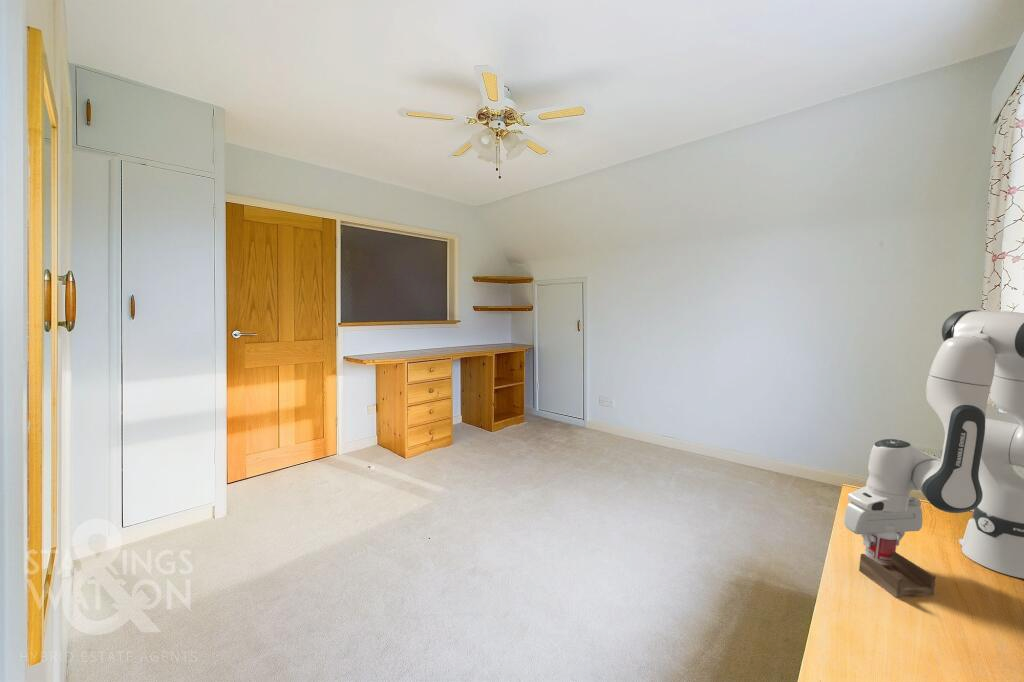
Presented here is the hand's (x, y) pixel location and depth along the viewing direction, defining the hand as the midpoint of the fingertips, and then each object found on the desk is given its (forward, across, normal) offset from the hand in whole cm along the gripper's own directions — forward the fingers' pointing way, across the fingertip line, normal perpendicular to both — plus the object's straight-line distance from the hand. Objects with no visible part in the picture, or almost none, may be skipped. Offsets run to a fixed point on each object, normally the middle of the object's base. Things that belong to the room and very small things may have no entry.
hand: (880, 545), depth 117 cm
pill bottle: (+4, 0, 0) cm, 4 cm away
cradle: (+4, +5, +9) cm, 11 cm away
